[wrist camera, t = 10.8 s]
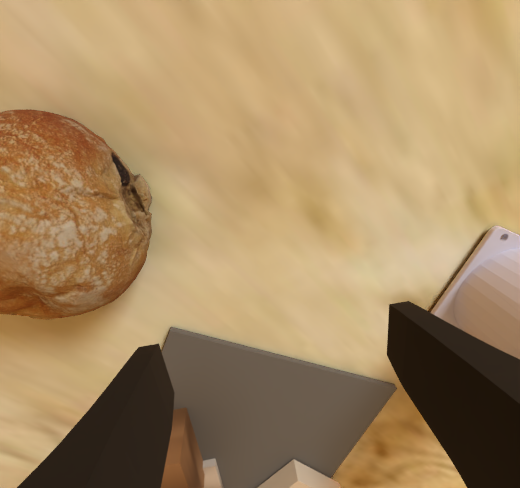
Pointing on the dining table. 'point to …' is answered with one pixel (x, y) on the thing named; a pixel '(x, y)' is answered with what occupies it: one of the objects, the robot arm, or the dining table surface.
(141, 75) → the dining table surface
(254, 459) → the mat
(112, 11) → the dining table surface
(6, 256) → the bread roll
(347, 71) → the dining table surface
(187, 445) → the tall brown post
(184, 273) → the dining table surface
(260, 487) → the flat beige block
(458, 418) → the robot arm
